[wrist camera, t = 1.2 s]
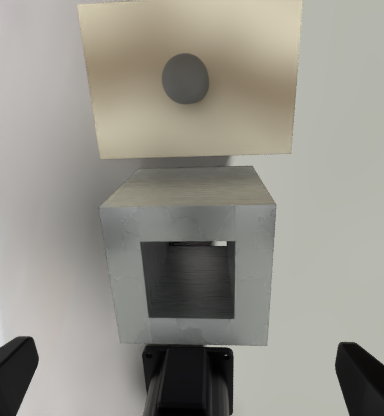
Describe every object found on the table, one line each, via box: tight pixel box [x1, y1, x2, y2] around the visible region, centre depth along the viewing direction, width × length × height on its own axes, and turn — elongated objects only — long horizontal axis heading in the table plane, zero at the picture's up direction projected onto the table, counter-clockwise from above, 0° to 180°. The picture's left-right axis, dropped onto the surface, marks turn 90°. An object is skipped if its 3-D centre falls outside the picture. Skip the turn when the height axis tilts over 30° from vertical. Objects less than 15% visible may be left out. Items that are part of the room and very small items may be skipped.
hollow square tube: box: [98, 166, 276, 346], centre depth 14 cm, size 6×6×6 cm
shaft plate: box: [77, 0, 303, 159], centre depth 13 cm, size 7×10×5 cm
